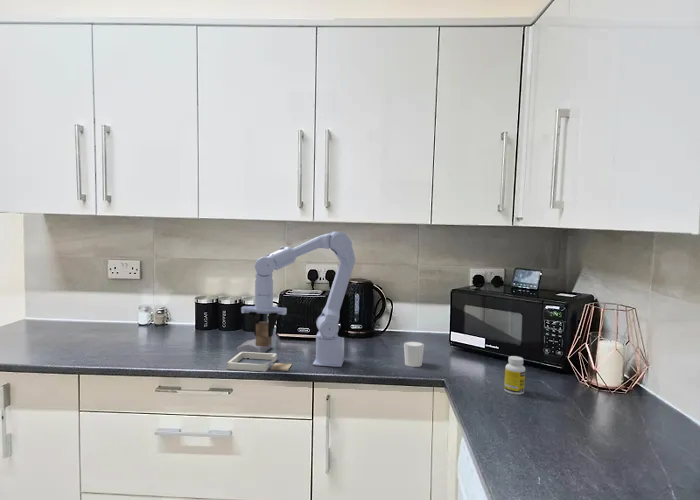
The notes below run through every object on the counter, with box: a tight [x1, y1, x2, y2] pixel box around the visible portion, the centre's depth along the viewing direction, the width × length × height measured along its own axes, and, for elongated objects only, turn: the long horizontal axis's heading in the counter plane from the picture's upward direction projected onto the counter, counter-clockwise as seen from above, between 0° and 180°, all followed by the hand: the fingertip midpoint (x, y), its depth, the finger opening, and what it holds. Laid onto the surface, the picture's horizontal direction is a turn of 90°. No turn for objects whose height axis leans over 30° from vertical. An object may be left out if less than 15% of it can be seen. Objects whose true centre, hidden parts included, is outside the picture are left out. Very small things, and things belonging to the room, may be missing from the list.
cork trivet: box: [269, 362, 293, 372], centre depth 145 cm, size 6×6×1 cm
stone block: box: [236, 338, 273, 354], centre depth 163 cm, size 12×5×10 cm
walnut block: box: [255, 321, 272, 347], centre depth 146 cm, size 4×4×7 cm
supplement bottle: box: [503, 355, 526, 395], centre depth 128 cm, size 5×5×10 cm
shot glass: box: [403, 341, 425, 368], centre depth 151 cm, size 7×7×7 cm
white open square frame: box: [226, 352, 278, 373], centre depth 147 cm, size 13×13×2 cm
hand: (263, 335), depth 146 cm, fingers closed on walnut block, 4 cm apart
